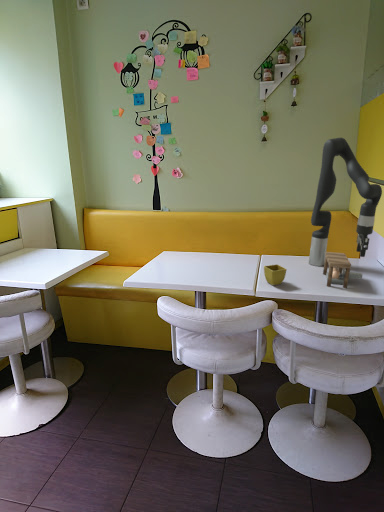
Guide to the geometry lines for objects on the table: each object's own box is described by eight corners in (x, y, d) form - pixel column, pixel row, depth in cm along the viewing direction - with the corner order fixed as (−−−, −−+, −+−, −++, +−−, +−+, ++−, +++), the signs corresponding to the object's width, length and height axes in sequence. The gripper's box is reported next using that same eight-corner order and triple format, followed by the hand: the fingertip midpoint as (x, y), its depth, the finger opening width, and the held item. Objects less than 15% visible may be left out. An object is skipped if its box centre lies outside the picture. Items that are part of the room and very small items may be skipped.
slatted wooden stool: (322, 273, 197) (325, 251, 193) (341, 275, 195) (344, 253, 191) (326, 286, 179) (330, 262, 175) (347, 288, 177) (351, 264, 173)
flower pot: (262, 281, 185) (263, 265, 182) (276, 279, 188) (277, 264, 185) (271, 287, 177) (272, 271, 174) (285, 285, 180) (287, 269, 177)
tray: (325, 276, 192) (327, 266, 191) (358, 279, 189) (360, 269, 187) (328, 283, 183) (329, 272, 181) (362, 286, 179) (364, 275, 178)
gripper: (354, 220, 182) (350, 249, 187) (360, 226, 169) (355, 257, 174) (370, 221, 180) (364, 250, 186) (377, 227, 167) (371, 259, 172)
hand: (360, 254), depth 180 cm, fingers open, 8 cm apart
